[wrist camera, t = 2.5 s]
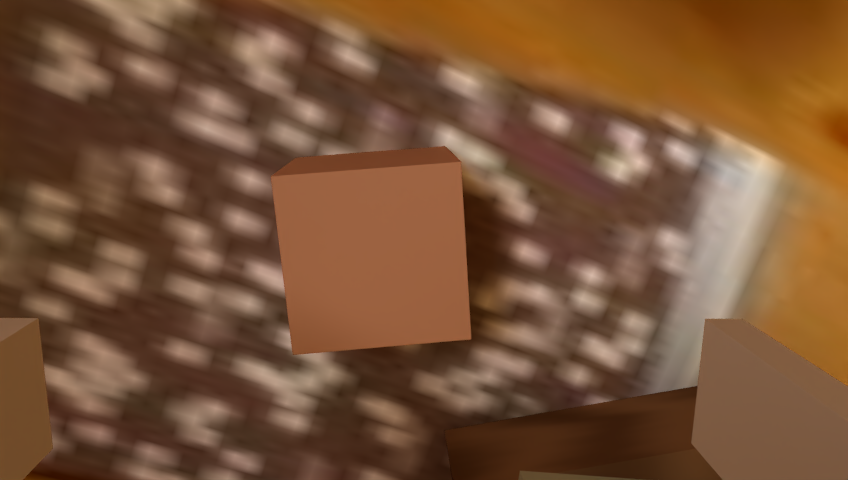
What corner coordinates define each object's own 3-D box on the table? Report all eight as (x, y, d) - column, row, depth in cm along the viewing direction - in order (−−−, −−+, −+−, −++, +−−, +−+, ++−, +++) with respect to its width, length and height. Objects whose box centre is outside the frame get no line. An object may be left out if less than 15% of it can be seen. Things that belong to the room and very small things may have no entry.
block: (312, 299, 28) (292, 354, 22) (296, 157, 27) (271, 176, 21) (453, 287, 28) (471, 339, 22) (444, 145, 27) (460, 161, 21)
